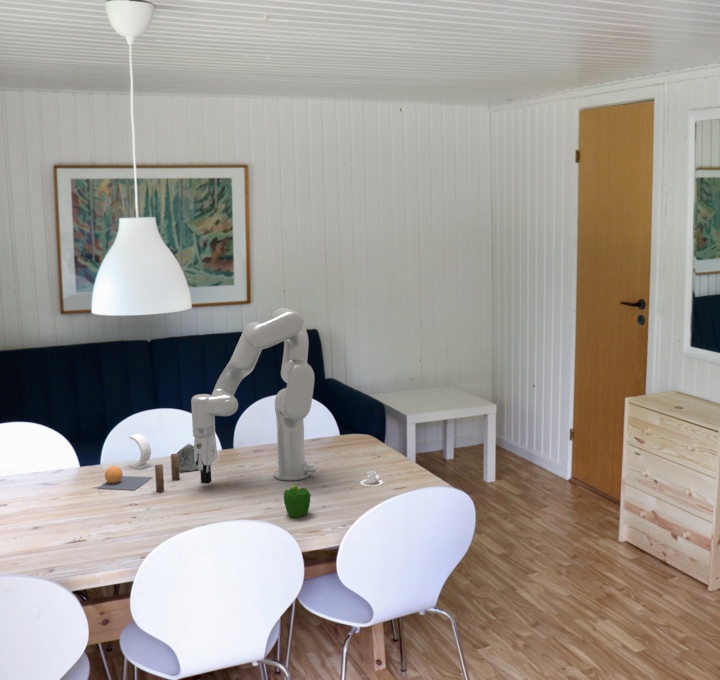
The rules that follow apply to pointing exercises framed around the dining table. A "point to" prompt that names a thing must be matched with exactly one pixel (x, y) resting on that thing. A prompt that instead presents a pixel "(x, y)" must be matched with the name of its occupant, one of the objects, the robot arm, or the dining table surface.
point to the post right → (175, 466)
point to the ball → (113, 474)
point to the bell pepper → (297, 501)
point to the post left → (159, 478)
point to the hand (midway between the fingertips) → (206, 482)
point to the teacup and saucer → (372, 479)
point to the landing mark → (126, 483)
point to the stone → (187, 458)
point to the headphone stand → (142, 451)
